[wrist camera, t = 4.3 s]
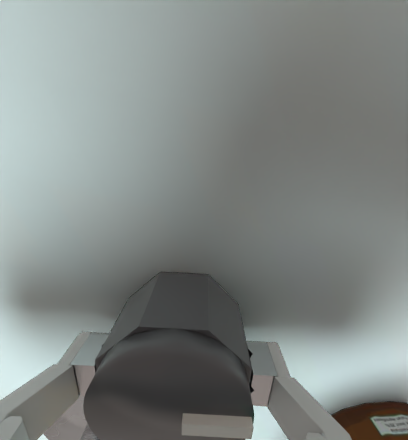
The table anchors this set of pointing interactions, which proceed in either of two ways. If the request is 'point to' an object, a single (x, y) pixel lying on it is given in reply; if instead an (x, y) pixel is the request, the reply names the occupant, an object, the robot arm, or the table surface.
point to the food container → (375, 421)
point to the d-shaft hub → (71, 424)
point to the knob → (173, 366)
